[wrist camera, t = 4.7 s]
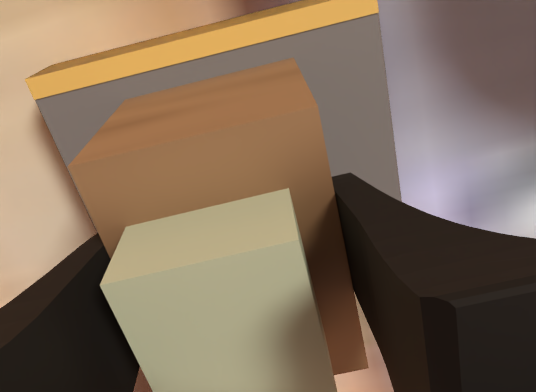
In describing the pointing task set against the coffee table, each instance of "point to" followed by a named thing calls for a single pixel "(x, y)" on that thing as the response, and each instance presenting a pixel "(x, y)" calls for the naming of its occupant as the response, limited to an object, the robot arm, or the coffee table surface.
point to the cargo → (221, 300)
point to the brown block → (227, 173)
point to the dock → (240, 58)
